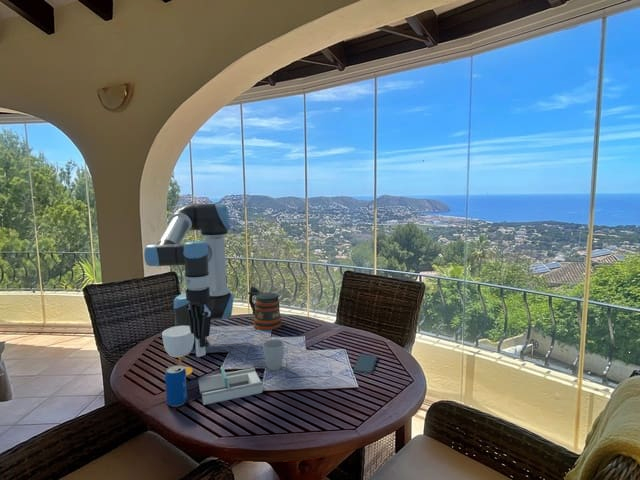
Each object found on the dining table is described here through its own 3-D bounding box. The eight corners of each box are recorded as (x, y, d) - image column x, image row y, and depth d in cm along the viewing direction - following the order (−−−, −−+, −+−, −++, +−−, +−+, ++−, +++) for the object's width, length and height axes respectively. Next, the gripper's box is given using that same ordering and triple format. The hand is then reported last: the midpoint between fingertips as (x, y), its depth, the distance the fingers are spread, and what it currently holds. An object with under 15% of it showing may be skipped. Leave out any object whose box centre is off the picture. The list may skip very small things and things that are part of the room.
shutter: (198, 381, 135) (197, 371, 134) (223, 376, 138) (223, 366, 138) (200, 393, 127) (199, 383, 126) (227, 388, 130) (227, 378, 129)
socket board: (200, 387, 137) (199, 377, 136) (254, 377, 144) (254, 367, 144) (203, 405, 126) (202, 394, 125) (262, 392, 133) (262, 382, 133)
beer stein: (240, 327, 197) (239, 289, 195) (256, 318, 211) (255, 283, 208) (272, 332, 190) (271, 293, 187) (286, 322, 203) (285, 286, 201)
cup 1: (157, 377, 145) (155, 334, 143) (179, 363, 156) (176, 324, 154) (182, 382, 141) (180, 338, 139) (202, 368, 152) (200, 327, 150)
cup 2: (287, 364, 155) (287, 341, 154) (279, 373, 147) (278, 348, 146) (269, 361, 157) (269, 338, 156) (260, 370, 150) (259, 346, 149)
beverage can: (180, 409, 124) (178, 374, 122) (162, 406, 125) (160, 372, 123) (191, 398, 130) (189, 365, 128) (174, 396, 131) (172, 363, 130)
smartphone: (352, 369, 148) (360, 352, 162) (352, 373, 149) (360, 356, 163) (371, 372, 146) (377, 355, 160) (371, 376, 146) (377, 358, 160)
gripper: (176, 286, 127) (180, 353, 130) (198, 293, 119) (202, 364, 122) (196, 282, 133) (200, 346, 136) (218, 288, 124) (221, 356, 127)
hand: (200, 355), depth 129 cm, fingers closed
